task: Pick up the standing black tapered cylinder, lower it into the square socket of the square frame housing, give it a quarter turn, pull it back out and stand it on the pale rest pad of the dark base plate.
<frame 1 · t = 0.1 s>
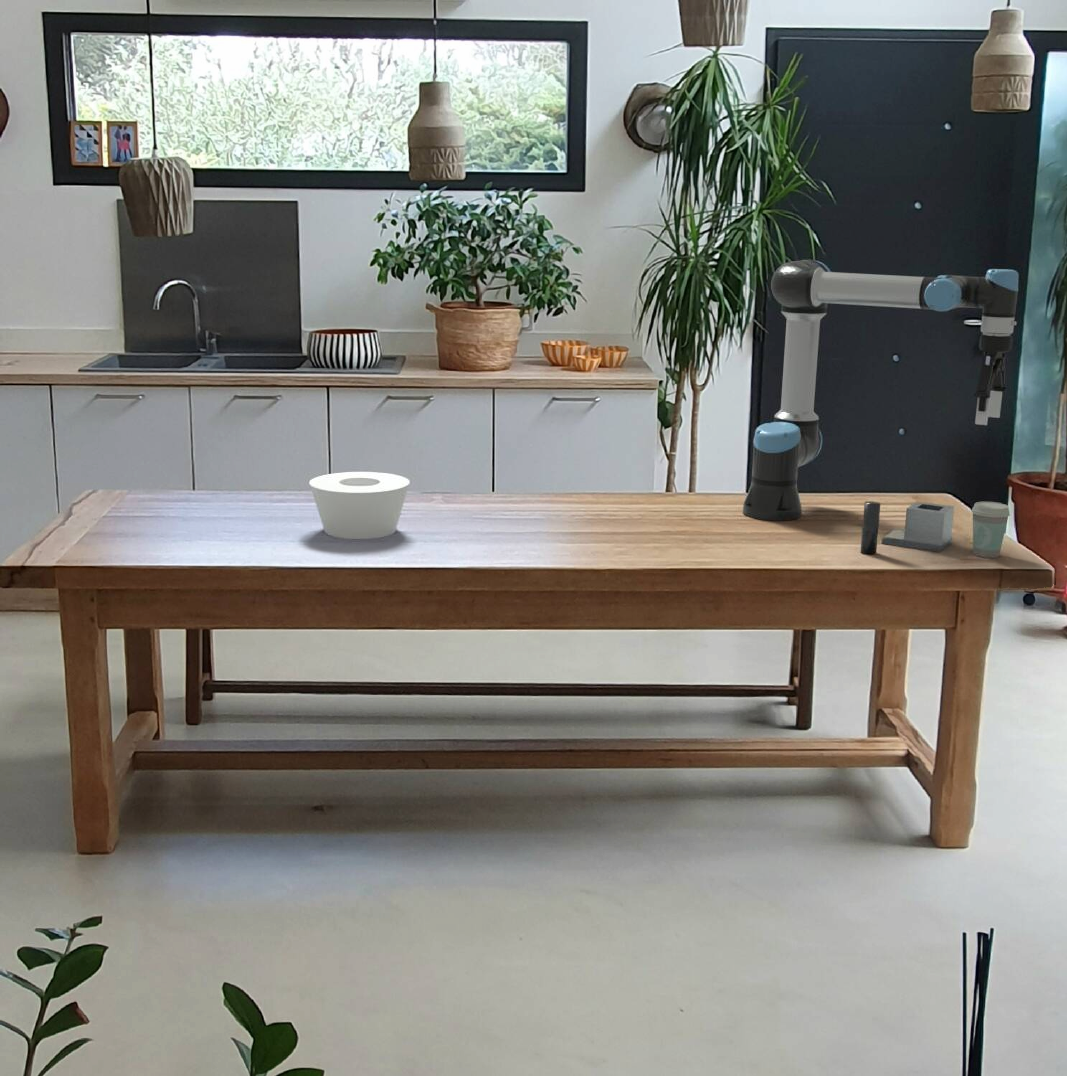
hand: (987, 420, 332), 28 cm above the table, fingers open, 13 cm apart
bowl: (360, 531, 327), on the table
black tapered cylinder: (868, 552, 316), on the table
coffee cup: (985, 555, 316), on the table
square frame housing: (916, 543, 326), on the table
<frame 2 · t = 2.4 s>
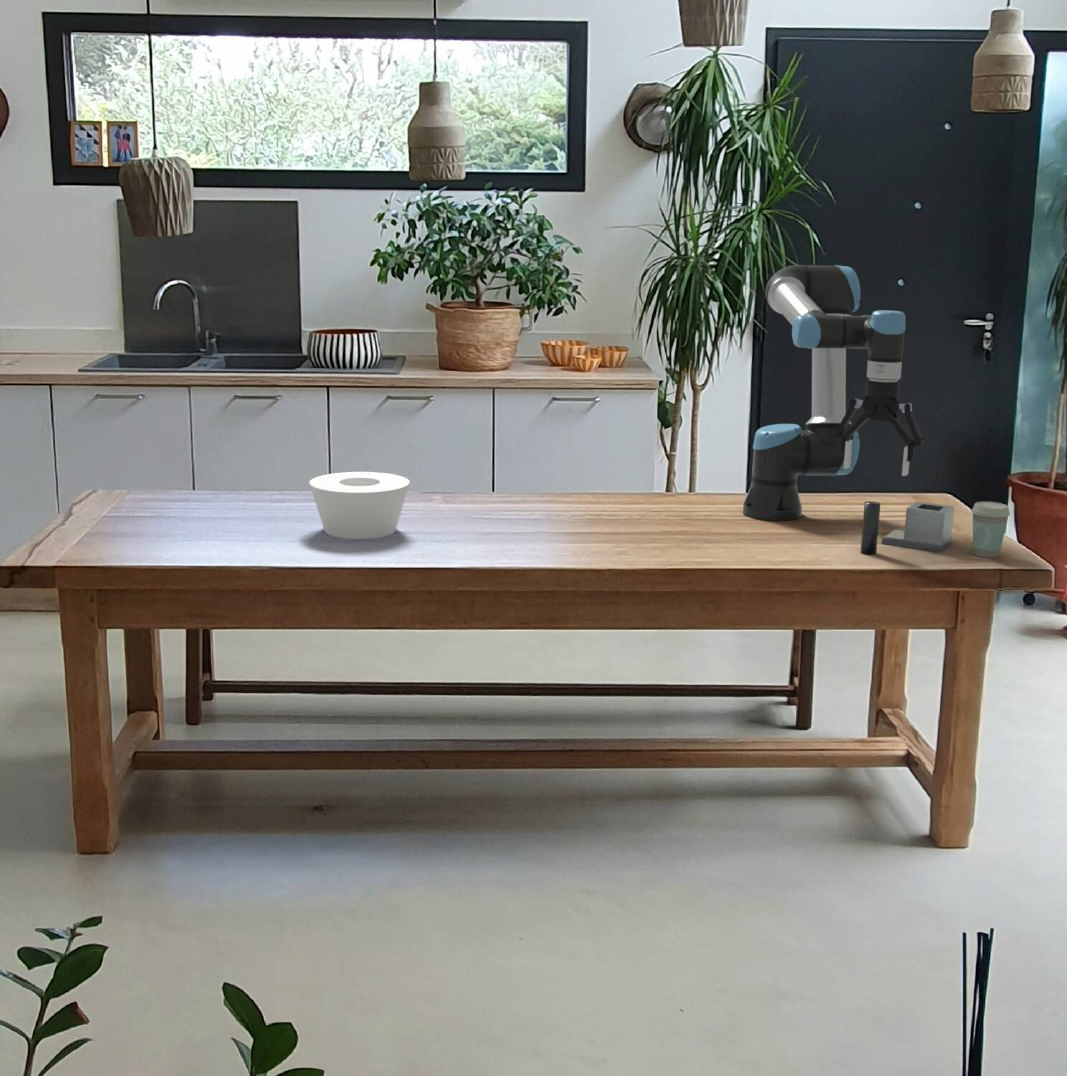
hand: (875, 471, 311), 19 cm above the table, fingers open, 13 cm apart
nothing on the table moved.
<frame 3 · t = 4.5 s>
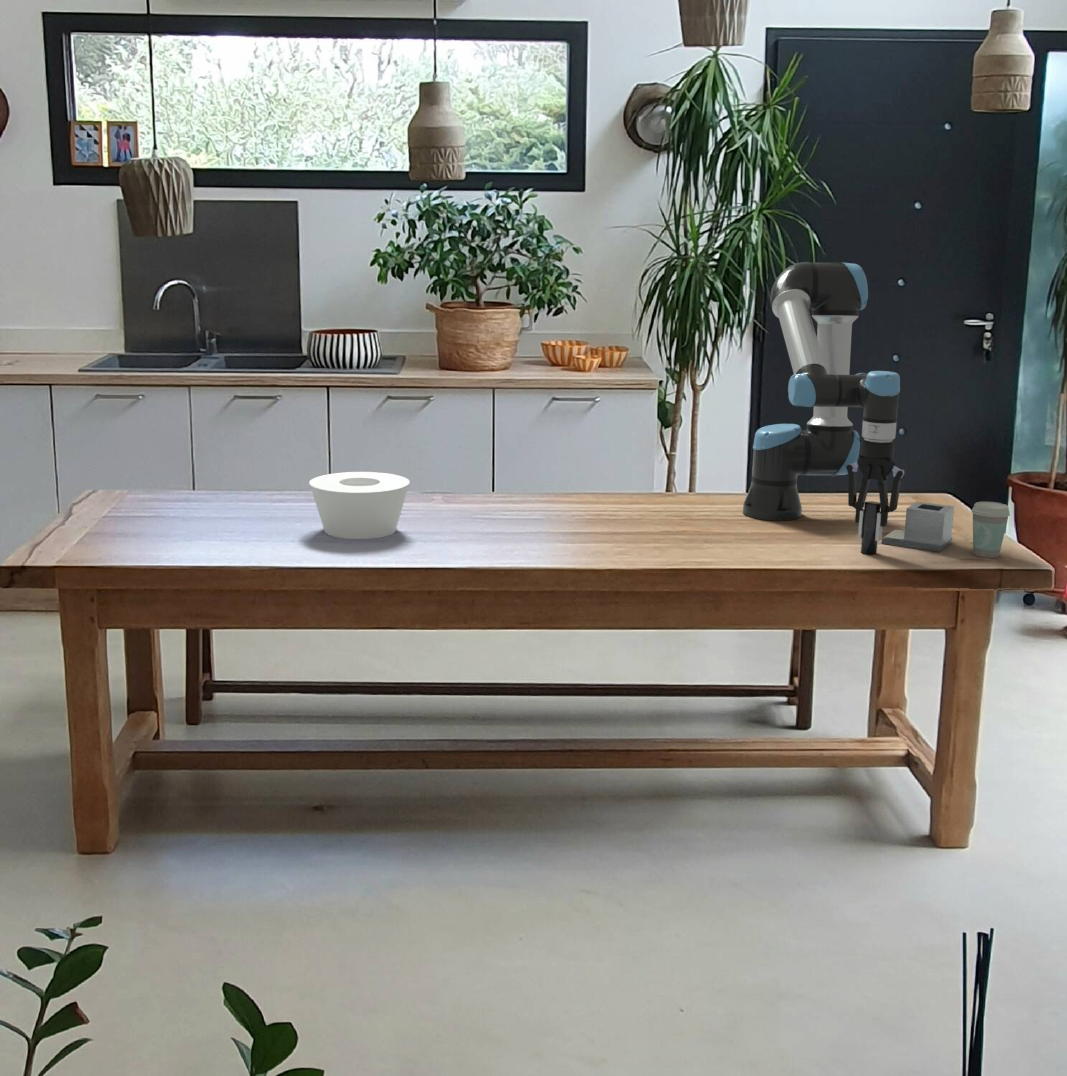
hand: (869, 538, 315), 4 cm above the table, fingers closed on black tapered cylinder, 3 cm apart
black tapered cylinder: (868, 552, 316), on the table, touching gripper
everything else where it was.
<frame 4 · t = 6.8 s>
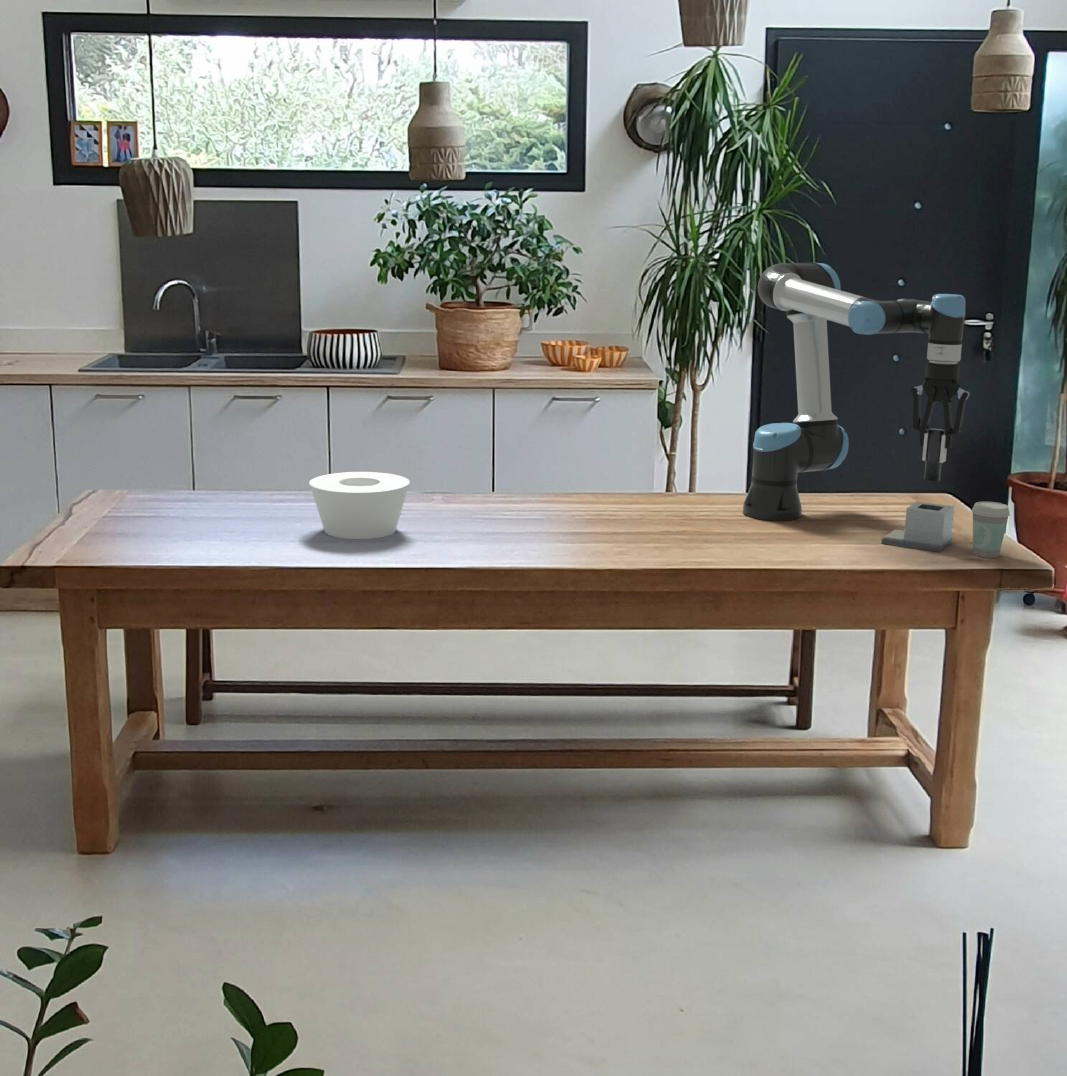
hand: (933, 460, 319), 21 cm above the table, fingers closed on black tapered cylinder, 3 cm apart
black tapered cylinder: (932, 479, 320), point 16 cm above the table, touching gripper
everything else where it was.
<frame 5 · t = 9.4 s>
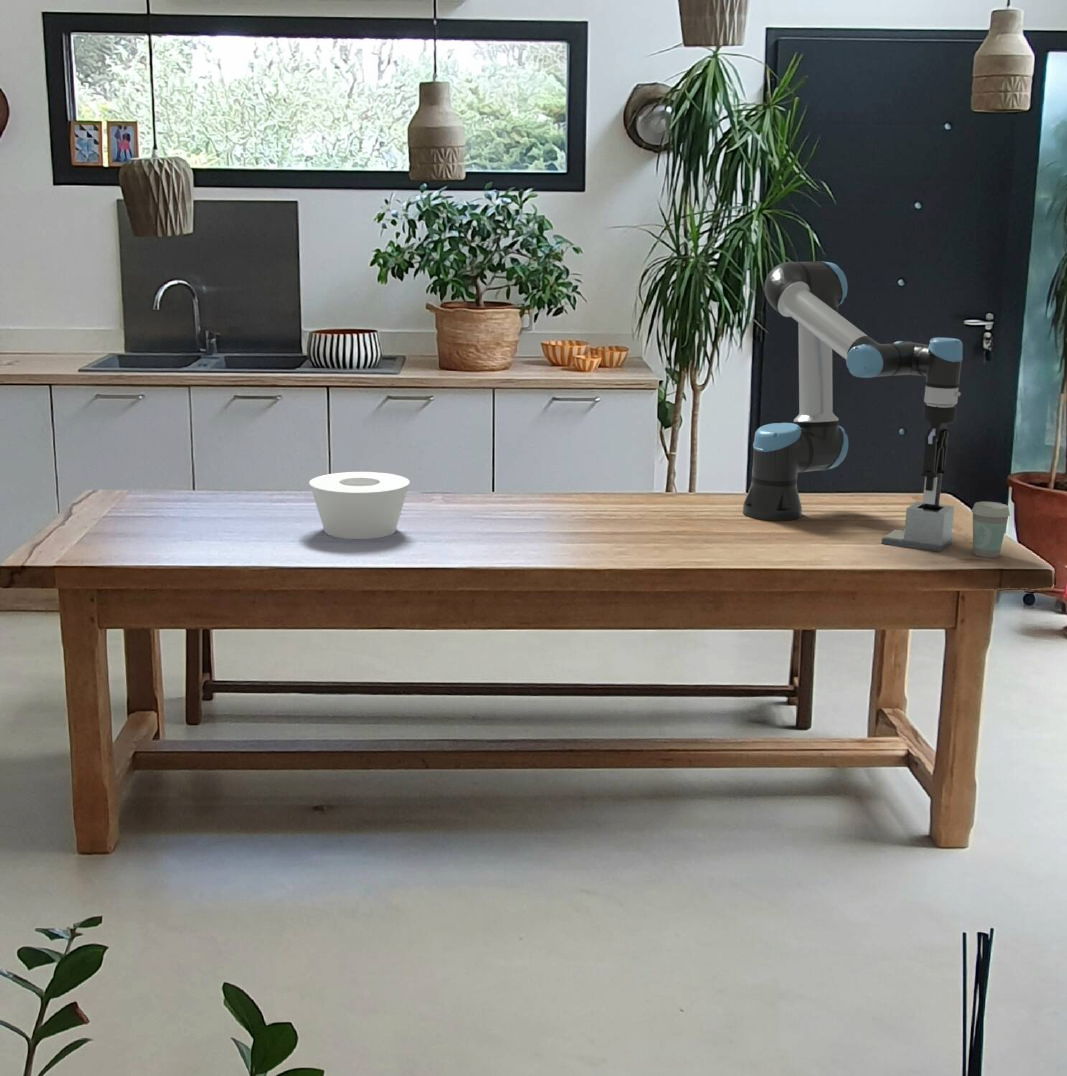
hand: (931, 501, 322), 11 cm above the table, fingers closed on black tapered cylinder, 3 cm apart
black tapered cylinder: (929, 522, 323), point 6 cm above the table, touching gripper
everything else where it was.
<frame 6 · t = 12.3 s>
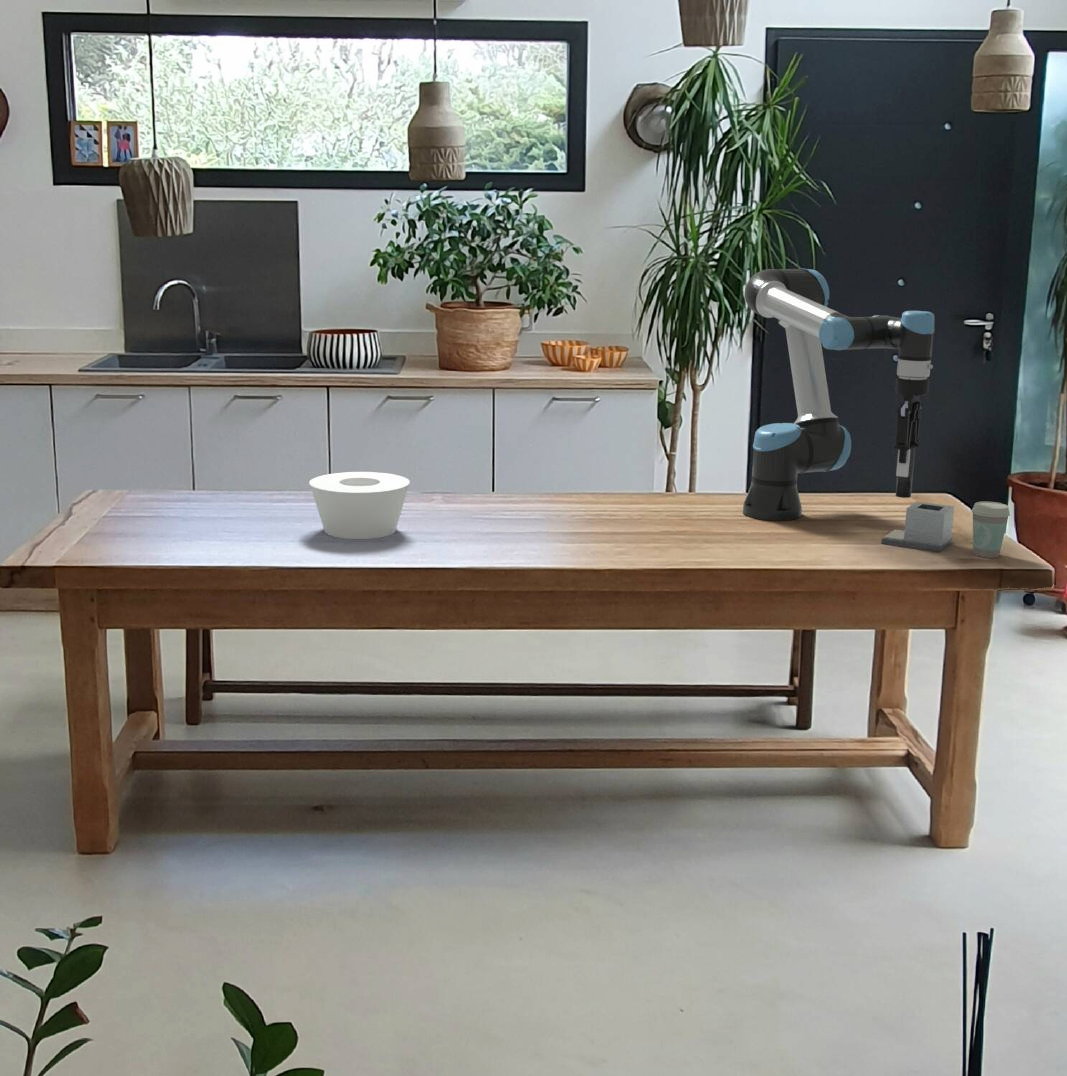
hand: (904, 474, 324), 16 cm above the table, fingers closed on black tapered cylinder, 3 cm apart
black tapered cylinder: (903, 496, 325), point 11 cm above the table, touching gripper
everything else where it was.
when the fingers open (6 cm above the table, at t = 14.3 s): black tapered cylinder stays where it is, resting on square frame housing.
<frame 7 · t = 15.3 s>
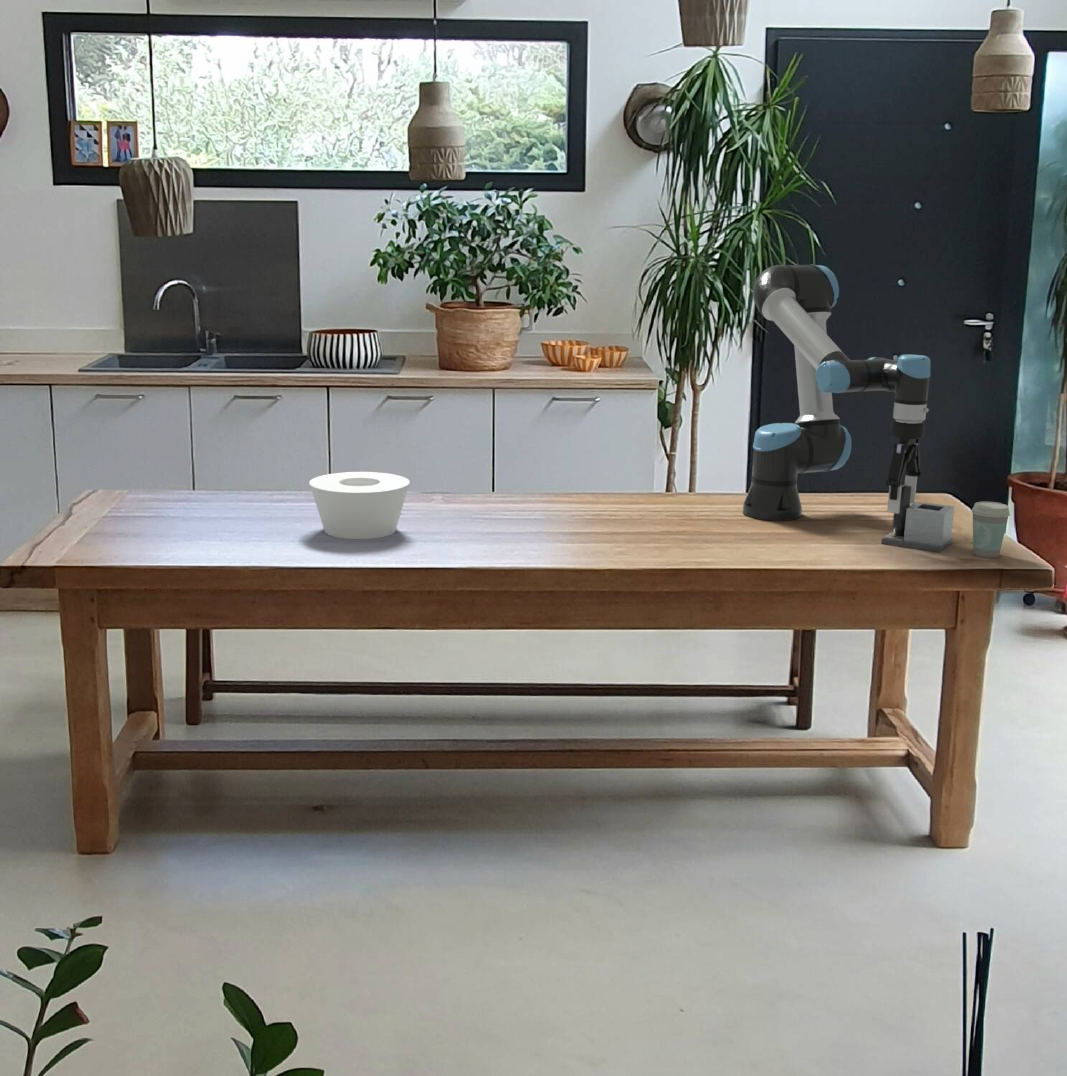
hand: (901, 507, 326), 8 cm above the table, fingers open, 13 cm apart
black tapered cylinder: (899, 534, 327), point 1 cm above the table, touching square frame housing
everything else where it was.
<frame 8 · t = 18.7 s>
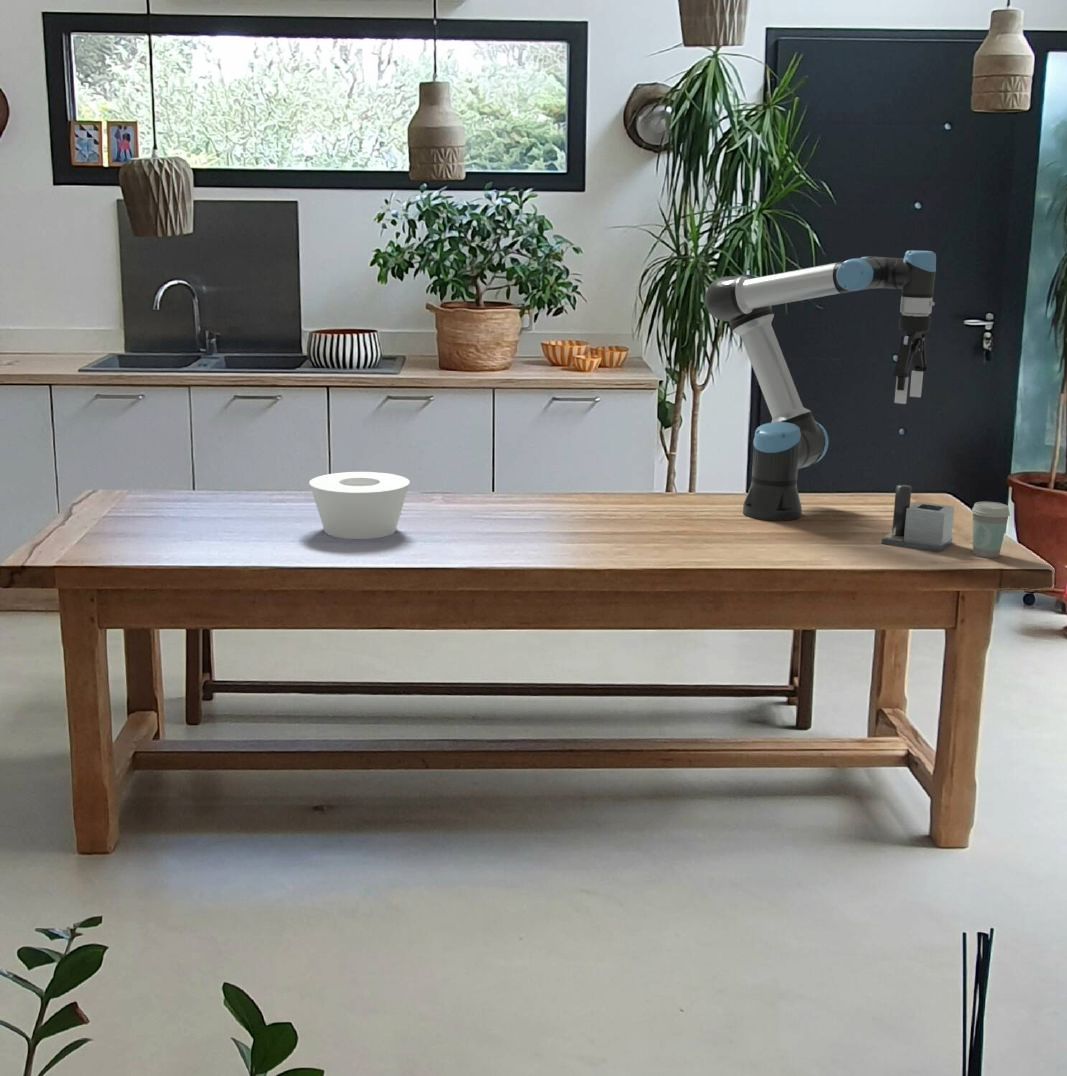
hand: (907, 400, 338), 32 cm above the table, fingers open, 13 cm apart
nothing on the table moved.
at the end: black tapered cylinder inside the target area on the square frame housing (0.2 cm from its centre), point 1.5 cm above the square frame housing's base; black tapered cylinder tilted 0°; the gripper is holding nothing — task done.
